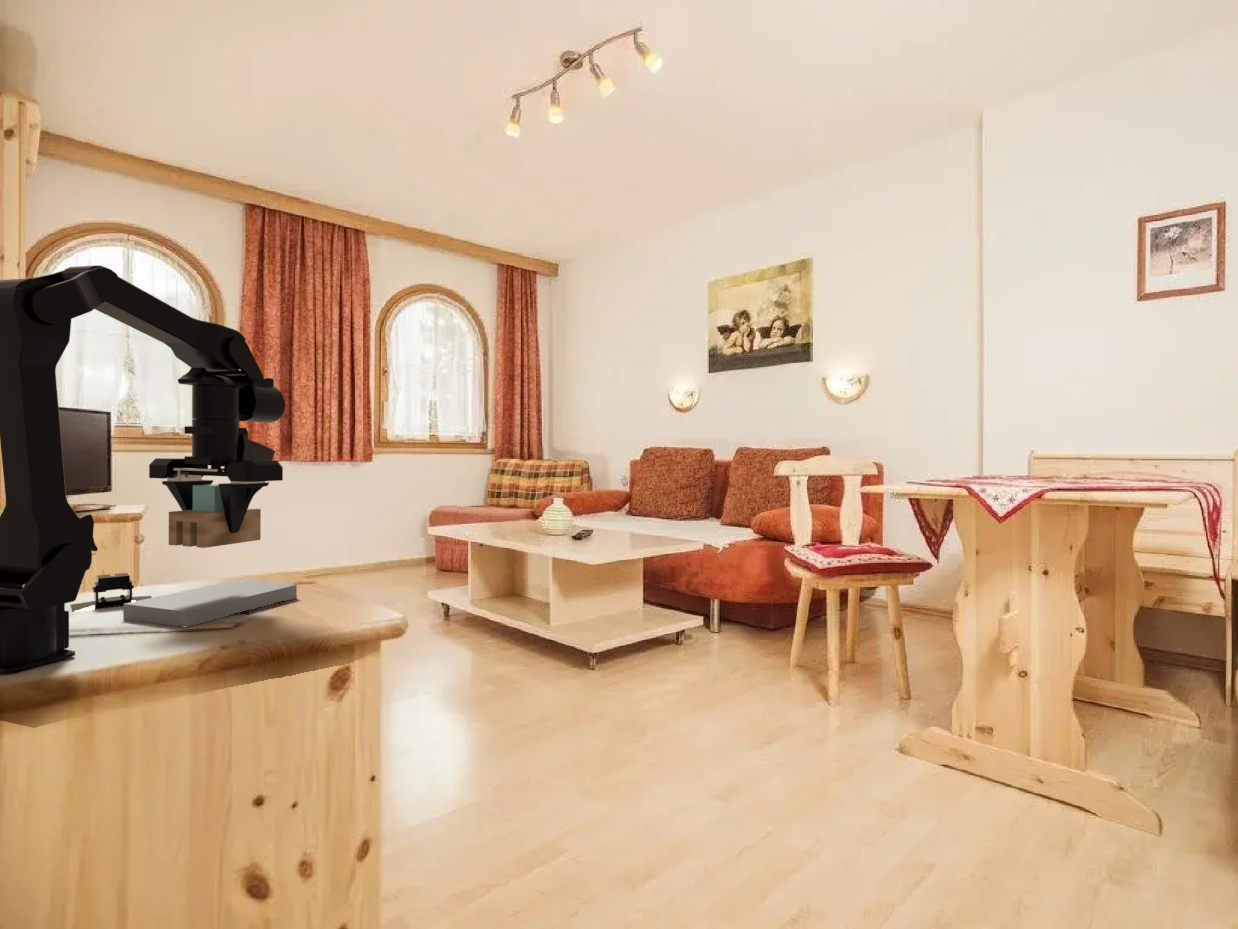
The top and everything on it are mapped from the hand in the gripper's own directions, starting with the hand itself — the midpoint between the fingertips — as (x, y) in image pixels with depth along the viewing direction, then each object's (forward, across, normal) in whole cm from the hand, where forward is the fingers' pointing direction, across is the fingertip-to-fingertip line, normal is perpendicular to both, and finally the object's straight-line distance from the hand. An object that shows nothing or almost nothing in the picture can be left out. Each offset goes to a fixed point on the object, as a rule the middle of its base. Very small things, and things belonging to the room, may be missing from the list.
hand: (215, 531), depth 95 cm
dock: (+11, 0, 0) cm, 11 cm away
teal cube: (-3, 0, 0) cm, 3 cm away
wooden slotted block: (+2, 0, 0) cm, 2 cm away
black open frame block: (+12, +16, +3) cm, 20 cm away
